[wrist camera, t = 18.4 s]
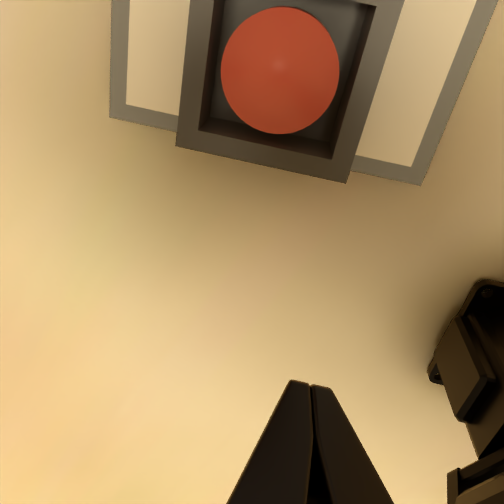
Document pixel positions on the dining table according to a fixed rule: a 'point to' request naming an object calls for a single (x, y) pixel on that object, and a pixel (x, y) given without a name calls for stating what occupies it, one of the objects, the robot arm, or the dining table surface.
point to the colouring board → (385, 98)
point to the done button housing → (319, 132)
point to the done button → (280, 70)
